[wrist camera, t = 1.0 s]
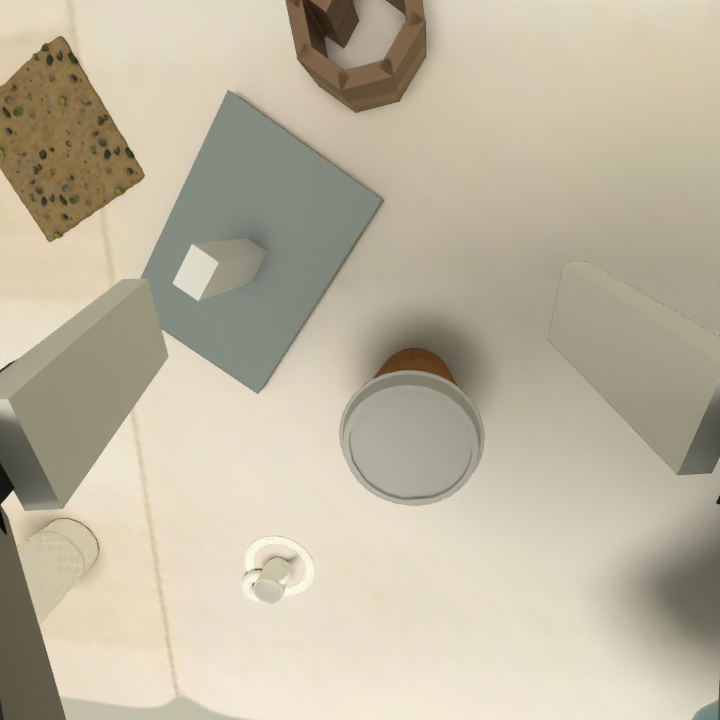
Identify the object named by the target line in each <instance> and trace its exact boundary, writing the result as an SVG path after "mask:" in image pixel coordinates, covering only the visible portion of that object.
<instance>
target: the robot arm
mask: <svg viewBox="0 0 720 720" xmlns="http://www.w3.org/2000/svg"><path fill="white" fill-rule="evenodd" d="M548 340H549V341H550V342H551V343H552V344H553V345H554V347H555V348H556V349H557V350H558V351H559V352H560V353H561V354H562V355H563V356H564V357H565V358H566V359H567V360H568V361H569V362H570V363H571V364H572V365H573V366H574V367H575V368H576V370H577V371H578V372H579V373H580V374H581V375H582V376H583V377H584V378H585V379H586V380H587V381H588V382H589V383H590V384H591V385H592V386H593V387H594V388H595V389H596V390H597V392H598V393H599V394H600V395H601V396H602V397H603V398H604V399H605V400H606V401H607V402H608V403H609V404H610V405H611V406H612V407H613V408H614V409H615V410H616V411H617V412H618V413H619V415H620V416H621V417H622V418H623V419H624V420H625V421H626V422H627V423H628V424H629V425H630V426H631V427H632V428H633V429H634V430H635V431H636V432H637V433H638V434H639V435H640V437H641V438H642V439H643V440H644V441H645V442H646V443H647V444H648V445H649V446H650V447H651V448H652V449H653V450H654V451H655V452H656V453H657V454H658V455H659V456H660V457H661V459H662V460H663V461H664V462H665V463H666V464H667V465H668V466H669V467H670V468H671V469H672V470H673V471H674V472H675V473H676V474H677V475H688V474H706V473H712V471H713V469H714V467H715V465H716V463H717V461H718V459H719V457H720V337H718V336H717V335H715V334H713V333H711V332H710V331H708V330H706V329H704V328H703V327H701V326H699V325H697V324H696V323H694V322H692V321H690V320H689V319H687V318H685V317H683V316H682V315H680V314H678V313H676V312H675V311H673V310H671V309H670V308H668V307H666V306H664V305H663V304H661V303H659V302H657V301H656V300H654V299H652V298H650V297H649V296H647V295H645V294H643V293H642V292H640V291H638V290H636V289H635V288H633V287H631V286H629V285H628V284H626V283H624V282H622V281H621V280H619V279H617V278H615V277H614V276H612V275H610V274H608V273H607V272H605V271H603V270H601V269H600V268H598V267H596V266H594V265H593V264H591V263H589V262H564V264H563V269H562V274H561V279H560V284H559V289H558V293H557V298H556V303H555V308H554V313H553V318H552V323H551V327H550V332H549V337H548ZM168 357H169V356H168V353H167V349H166V345H165V341H164V338H163V334H162V330H161V327H160V323H159V319H158V315H157V312H156V308H155V304H154V301H153V297H152V293H151V290H150V286H149V282H148V278H147V279H122V280H121V281H120V282H118V283H117V284H116V285H115V286H113V287H112V288H111V289H109V290H108V291H107V292H105V293H104V294H103V295H101V296H100V297H99V298H98V299H96V300H95V301H94V302H92V303H91V304H90V305H88V306H87V307H86V308H84V309H83V310H82V311H81V312H79V313H78V314H77V315H75V316H74V317H73V318H71V319H70V320H69V321H67V322H66V323H65V324H64V325H62V326H61V327H60V328H58V329H57V330H56V331H54V332H53V333H52V334H50V335H49V336H48V337H47V338H45V339H44V340H43V341H41V342H40V343H39V344H37V345H36V346H35V347H33V348H32V349H31V350H30V351H28V352H27V353H26V354H24V355H23V356H22V357H20V358H19V359H17V360H15V361H13V362H11V363H9V364H8V365H6V366H5V367H4V368H2V369H1V370H0V720H66V718H65V714H64V711H63V707H62V704H61V700H60V697H59V693H58V690H57V686H56V683H55V679H54V676H53V672H52V669H51V665H50V662H49V659H48V655H47V652H46V648H45V645H44V641H43V638H42V634H41V631H40V627H39V624H38V620H37V617H36V613H35V610H34V606H33V603H32V599H31V596H30V592H29V589H28V585H27V582H26V578H25V575H24V571H23V568H22V564H21V561H20V557H19V554H18V550H17V547H16V543H15V540H14V536H13V533H12V529H11V526H10V522H9V519H8V516H7V515H6V513H5V511H4V510H3V508H2V506H1V503H2V502H3V501H4V500H5V499H6V498H7V496H8V495H9V494H10V493H11V492H12V491H13V490H14V492H15V494H16V495H17V497H18V499H19V501H20V503H21V504H22V506H23V508H24V510H25V511H31V510H50V509H63V508H64V506H65V505H66V503H67V502H68V501H69V499H70V498H71V496H72V495H73V493H74V492H75V490H76V489H77V488H78V486H79V485H80V483H81V482H82V480H83V479H84V477H85V476H86V475H87V473H88V472H89V470H90V469H91V467H92V466H93V465H94V463H95V462H96V460H97V459H98V457H99V456H100V454H101V453H102V452H103V450H104V449H105V447H106V446H107V444H108V443H109V442H110V440H111V439H112V437H113V436H114V434H115V433H116V431H117V430H118V429H119V427H120V426H121V424H122V423H123V421H124V420H125V418H126V417H127V416H128V414H129V413H130V411H131V410H132V408H133V407H134V406H135V404H136V403H137V401H138V400H139V398H140V397H141V395H142V394H143V393H144V391H145V390H146V388H147V387H148V385H149V384H150V382H151V381H152V380H153V378H154V377H155V375H156V374H157V372H158V371H159V370H160V368H161V367H162V365H163V364H164V362H165V361H166V359H167V358H168ZM716 503H717V504H720V496H719V498H718V500H717V502H716ZM692 720H720V683H719V700H717V701H715V702H713V703H711V704H709V705H707V706H705V707H703V708H701V709H700V710H699V711H697V713H696V714H695V715H694V717H693V719H692Z"/></svg>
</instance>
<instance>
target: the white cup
mask: <svg viewBox="0 0 720 720" xmlns="http://www.w3.org/2000/svg"><path fill="white" fill-rule="evenodd" d="M16 547H17V550H18V554H19V557H20V561H21V564H22V568H23V571H24V575H25V578H26V582H27V585H28V589H29V592H30V596H31V599H32V603H33V606H34V610H35V613H36V617H37V620H38V624H39V625H40V624H41V623H42V622H43V621H44V620H45V618H46V617H47V616H48V615H49V614H50V613H51V612H52V611H53V610H54V608H55V607H56V606H57V605H58V604H59V603H60V602H61V601H62V599H63V598H64V597H65V596H66V595H67V593H68V592H69V591H70V590H71V589H72V588H73V587H74V586H75V584H76V583H77V582H78V580H79V579H80V578H81V576H82V575H83V574H84V573H85V572H86V571H87V570H88V569H89V567H90V566H91V565H92V564H93V563H94V562H95V560H96V558H97V555H98V553H99V550H98V544H97V541H96V539H95V538H94V536H93V534H92V533H91V531H90V530H88V529H87V528H86V527H84V526H83V525H82V524H81V523H79V522H76V521H73V520H70V519H57V520H55V521H53V522H52V523H50V524H49V525H47V526H46V527H45V528H43V529H42V530H41V531H39V532H38V533H36V534H35V535H33V536H30V537H29V538H28V539H26V540H25V541H24V542H22V543H21V544H19V545H18V546H16Z"/></svg>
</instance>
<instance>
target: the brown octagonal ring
mask: <svg viewBox="0 0 720 720" xmlns="http://www.w3.org/2000/svg"><path fill="white" fill-rule="evenodd" d="M387 1H388V2H389V3H391V4H392V5H393V6H395V7H396V8H397V9H399V10H400V11H401V12H403V13H404V14H405V16H406V21H405V23H404V25H403V27H402V28H401V30H400V32H399V34H398V35H397V37H396V39H395V41H394V42H393V44H392V46H391V48H390V49H389V51H388V53H387V55H386V56H385V58H384V60H382V61H378V62H374V63H371V64H367V65H364V66H360V67H357V68H353V69H350V70H346V71H344V70H342V69H341V68H340V67H338V66H337V65H335V64H334V63H333V62H331V61H330V60H329V59H328V56H327V51H326V46H325V40H324V38H325V36H327V37H329V38H330V39H331V40H333V41H334V42H336V43H337V44H338V45H340V46H341V47H342V48H345V46H346V44H347V42H348V40H349V38H350V36H351V35H352V33H353V31H354V29H355V27H356V25H357V23H358V22H359V19H358V16H357V14H356V11H355V8H354V5H353V2H352V0H286V5H287V10H288V15H289V20H290V25H291V29H292V34H293V39H294V44H295V49H296V54H297V59H298V61H299V62H300V63H301V64H302V66H303V67H304V68H305V69H306V71H307V72H308V73H309V74H310V75H311V77H312V78H313V79H314V80H315V82H316V83H317V84H318V85H319V87H321V88H323V89H324V90H325V91H327V92H328V93H330V94H331V95H332V96H334V97H335V98H336V99H338V100H339V101H341V102H342V103H343V104H345V105H346V106H347V107H349V108H350V109H352V110H353V111H354V112H355V113H357V112H360V111H364V110H368V109H372V108H376V107H379V106H383V105H387V104H391V103H395V102H399V101H400V99H401V97H402V96H403V94H404V92H405V91H406V89H407V87H408V86H409V84H410V82H411V81H412V79H413V77H414V76H415V74H416V72H417V71H418V69H419V67H420V66H421V64H422V62H423V61H424V59H425V58H426V21H425V16H424V8H423V0H387Z"/></svg>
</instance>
